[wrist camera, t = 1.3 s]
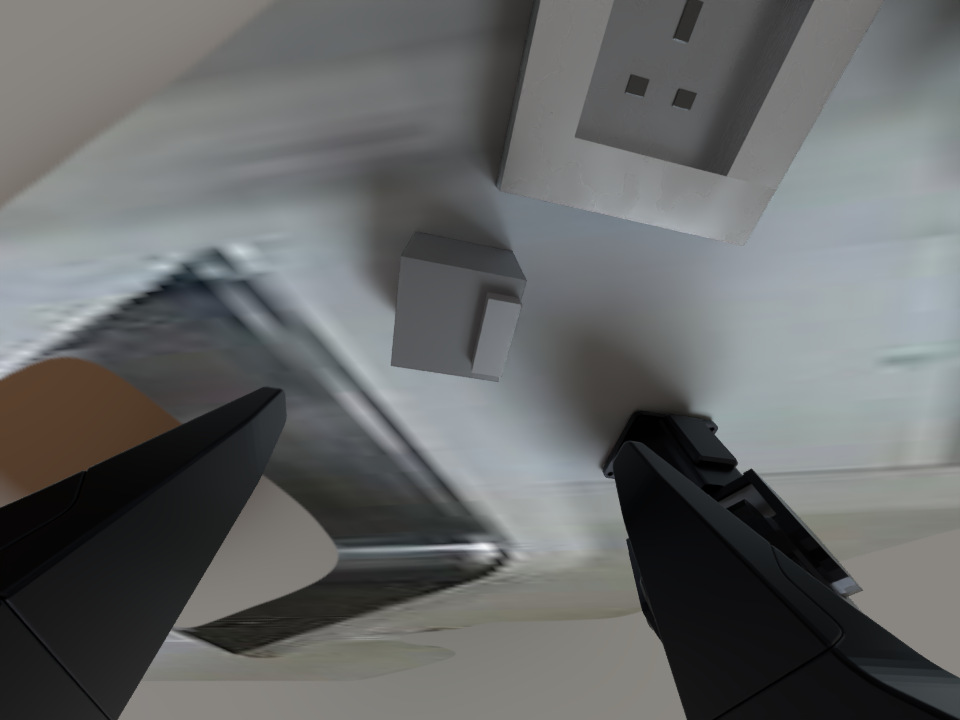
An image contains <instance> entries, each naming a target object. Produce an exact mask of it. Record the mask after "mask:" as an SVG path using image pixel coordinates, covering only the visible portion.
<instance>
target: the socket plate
mask: <svg viewBox="0 0 960 720" xmlns="http://www.w3.org/2000/svg"><path fill="white" fill-rule="evenodd" d="M883 2H884V0H534V3H533V8H532V13H531V18H530V22H529V27H528V32H527V37H526V42H525V47H524V52H523V56H522V61H521V66H520V71H519V76H518V81H517V86H516V90H515V95H514V100H513V105H512V110H511V115H510V119H509V124H508V129H507V134H506V139H505V144H504V149H503V153H502V158H501V163H500V168H499V173H498V178H497V183H496V187H497V188H498V189H499V190H500V191H503V192H508V193H512V194H517V195H521V196H525V197H530V198H534V199H539V200H543V201H547V202H552V203H556V204H561V205H565V206H569V207H574V208H578V209H583V210H587V211H591V212H596V213H600V214H605V215H609V216H613V217H618V218H622V219H627V220H631V221H635V222H640V223H644V224H649V225H653V226H657V227H662V228H666V229H670V230H675V231H679V232H684V233H688V234H692V235H697V236H701V237H706V238H710V239H714V240H719V241H723V242H728V243H732V244H736V245H741V246H744V245H745V243H746V242H747V240H748V238H749V236H750V235H751V233H752V231H753V229H754V228H755V226H756V224H757V222H758V221H759V219H760V217H761V215H762V214H763V212H764V210H765V208H766V207H767V205H768V203H769V201H770V200H771V198H772V196H773V194H774V193H775V191H776V189H777V187H778V186H779V184H780V182H781V180H782V179H783V177H784V175H785V173H786V172H787V170H788V168H789V166H790V165H791V163H792V161H793V159H794V158H795V156H796V154H797V152H798V151H799V149H800V147H801V145H802V144H803V142H804V140H805V139H806V137H807V135H808V133H809V132H810V130H811V128H812V126H813V125H814V123H815V121H816V119H817V118H818V116H819V114H820V112H821V111H822V109H823V107H824V105H825V104H826V102H827V100H828V98H829V97H830V95H831V93H832V91H833V90H834V88H835V86H836V84H837V83H838V81H839V79H840V77H841V76H842V74H843V72H844V70H845V69H846V67H847V65H848V63H849V62H850V60H851V58H852V56H853V55H854V53H855V51H856V49H857V48H858V46H859V44H860V42H861V41H862V39H863V37H864V35H865V34H866V32H867V30H868V28H869V27H870V25H871V23H872V21H873V20H874V18H875V16H876V14H877V13H878V11H879V9H880V7H881V6H882V4H883Z"/></svg>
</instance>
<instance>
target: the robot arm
mask: <svg viewBox="0 0 960 720" xmlns="http://www.w3.org/2000/svg"><path fill="white" fill-rule="evenodd" d="M286 416H287V413H286V398H285V392H284V390H283V389H281V388H275V387H268V386H266V387H262V388H260V389H258V390H256V391H254V392H251V393H249V394H247V395H245V396H243V397H241V398H238V399H236V400H234V401H232V402H230V403H228V404H225V405H223V406H221V407H219V408H217V409H215V410H213V411H210V412H208V413H206V414H204V415H202V416H200V417H197V418H195V419H193V420H191V421H189V422H187V423H184V424H182V425H180V426H178V427H176V428H174V429H172V430H170V431H167V432H165V433H163V434H161V435H159V436H156V437H154V438H152V439H150V440H148V441H146V442H143V443H141V444H139V445H137V446H135V447H133V448H131V449H129V450H126V451H124V452H122V453H120V454H118V455H115V456H113V457H111V458H109V459H107V460H105V461H103V462H101V463H98V464H96V465H94V466H92V467H90V468H88V470H87V472H86V471H81V472H78V473H76V474H74V475H72V476H70V477H68V478H66V479H63V480H61V481H59V482H57V483H55V484H52V485H50V486H48V487H46V488H43V489H41V490H39V491H37V492H34V493H32V494H30V495H28V496H26V497H23V498H21V499H19V500H17V501H14V502H12V503H10V504H7V505H5V506H3V507H0V720H118V718H119V716H120V714H121V713H122V711H123V710H124V708H125V706H126V705H127V703H128V701H129V699H130V698H131V696H132V694H133V693H134V691H135V689H136V688H137V686H138V684H139V683H140V681H141V679H142V678H143V676H144V674H145V673H146V671H147V669H148V668H149V666H150V664H151V662H152V661H153V659H154V657H155V656H156V654H157V652H158V651H159V649H160V647H161V646H162V644H163V642H164V641H165V639H166V637H167V636H168V634H169V632H170V630H171V629H172V627H173V625H174V624H175V622H176V620H177V619H178V617H179V615H180V614H181V612H182V610H183V609H184V607H185V605H186V604H187V602H188V600H189V599H190V597H191V595H192V593H193V592H194V590H195V588H196V587H197V585H198V583H199V582H200V580H201V578H202V577H203V575H204V573H205V572H206V570H207V568H208V567H209V565H210V563H211V562H212V560H213V558H214V556H215V555H216V553H217V551H218V550H219V548H220V546H221V545H222V543H223V541H224V540H225V538H226V536H227V535H228V533H229V531H230V529H231V527H232V526H233V524H234V523H235V521H236V519H237V518H238V516H239V514H240V513H241V510H242V509H243V508H244V506H245V504H246V503H247V501H248V499H249V498H250V496H251V494H252V493H253V490H254V489H255V487H256V485H257V484H258V482H259V480H260V478H261V476H262V474H263V472H264V470H265V467H266V465H267V463H268V461H269V458H270V456H271V454H272V452H273V449H274V447H275V445H276V443H277V441H278V438H279V436H280V434H281V432H282V429H283V427H284V425H285V422H286ZM640 417H641V418H640ZM639 418H640V419H639ZM717 430H718V426H717V425H716V424H715V423H714V422H713V421H708V420H701V419H699V418H693V417H686V416H679V415H672V414H668V415H667V414H660V413H654V412H647V411H637V412H635V413H634V414H633V415H632V417H631V418H630V420H629V422H628V424H627V426H626V428H625V429H624V431H623V433H622V435H621V437H620V439H619V440H618V442H617V444H616V446H615V448H614V450H613V451H612V453H611V455H610V457H609V459H608V461H607V463H606V464H605V466H604V468H603V473H604V476H605V477H606V478H612V479H615V483H616V487H617V492H618V497H619V502H620V506H621V511H622V515H623V519H624V523H625V527H626V530H627V533H628V536H629V538H628V539H626V541H627V545H628V550H629V556H630V561H631V565H632V569H633V574H634V578H635V582H636V587H637V591H638V595H639V600H640V604H641V608H642V611H643V613H644V615H645V617H646V619H647V622H648V624H649V626H650V627H651V629H652V630H654V631H655V633H656V634H657V636H658V637H659V639H660V640H661V642H662V643H663V646H664V649H665V652H666V656H667V659H668V662H669V665H670V668H671V671H672V674H673V677H674V681H675V684H676V687H677V690H678V693H679V696H680V699H681V703H682V706H683V709H684V712H685V715H686V718H687V720H960V678H959V677H957V676H955V675H953V674H951V673H949V672H948V671H946V670H944V669H942V668H941V667H939V666H937V665H936V664H934V663H932V662H930V661H929V660H928V659H926V658H925V657H923V656H922V655H920V654H919V653H917V652H916V651H915V650H913V649H912V648H910V647H909V646H908V645H906V644H905V643H904V642H902V641H901V640H899V639H898V638H896V637H895V636H894V635H892V634H891V633H890V632H888V631H887V630H885V629H884V628H883V627H881V626H880V625H879V624H877V623H876V622H874V621H873V620H872V619H870V618H869V617H868V616H866V615H865V614H863V613H862V612H861V610H859V608H858V607H857V606H856V605H855V604H854V603H853V601H852V600H851V599H850V598H849V597H848V596H850V595H853V594H855V593H858V592H860V591H863V589H862V588H861V587H860V586H859V585H858V583H857V582H856V581H855V580H854V579H853V578H852V577H851V575H850V574H849V573H848V572H847V571H846V570H845V568H844V567H843V566H842V565H841V564H840V563H839V561H838V560H837V559H836V558H835V557H834V556H833V555H832V553H831V552H830V551H829V550H828V549H827V548H826V546H825V545H824V544H823V543H822V542H821V541H820V539H819V538H818V537H817V536H816V535H815V534H814V533H813V532H812V531H811V530H810V529H809V527H808V526H807V525H806V524H805V523H804V522H803V521H802V520H801V519H800V518H799V517H798V516H797V515H796V513H795V512H794V511H793V510H792V509H791V508H790V507H789V506H788V505H787V504H786V503H785V502H784V501H783V500H782V499H781V498H780V497H779V496H778V495H777V494H776V493H775V492H774V491H773V490H772V489H771V488H770V487H769V486H768V485H767V483H766V482H765V481H764V480H763V479H762V478H761V477H760V476H759V475H758V474H757V473H756V472H755V471H754V470H753V469H752V468H751V469H750V470H748V471H746V472H744V473H743V474H744V475H742V474H741V473H740V472H739V471H738V470H737V468H736V466H737V465H738V462H737V460H736V458H735V457H734V456H733V455H732V454H731V453H730V452H729V450H728V449H727V448H726V447H725V446H724V445H723V444H722V443H721V441H720V440H719V439H718V438H717V437H716V436H715V435H714V434H715V433H716V431H717Z"/></svg>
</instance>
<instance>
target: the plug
mask: <svg viewBox="0 0 960 720" xmlns="http://www.w3.org/2000/svg"><path fill="white" fill-rule="evenodd" d="M526 281H527V280H526V278H525V276H524V274H523V272H522V270H521V268H520V266H519V264H518V262H517V260H516V258H515V256H514V254H513V251H508V250H503V249H498V248H493V247H488V246H483V245H478V244H473V243H469V242H464V241H459V240H454V239H449V238H444V237H439V236H434V235H429V234H424V233H419V232H415V233H414V235H413V237H412V238H411V240H410V242H409V243H408V245H407V247H406V248H405V250H404V252H403V253H402V255H401V259H400V270H399V281H398V292H397V303H396V314H395V325H394V336H393V347H392V358H391V366H395V367H402V368H409V369H415V370H422V371H429V372H435V373H442V374H449V375H455V376H462V377H469V378H476V379H482V380H489V381H496V382H498V381H499V377H502V374H503V370H504V367H505V363H506V360H507V356H508V353H509V349H510V346H511V342H512V339H513V335H514V331H515V328H516V324H517V321H518V317H519V314H520V310H521V307H522V303H521V299H522V295H523V292H524V288H525V284H526Z"/></svg>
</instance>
